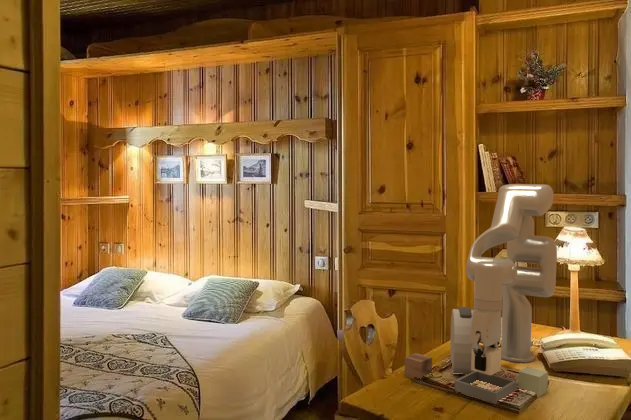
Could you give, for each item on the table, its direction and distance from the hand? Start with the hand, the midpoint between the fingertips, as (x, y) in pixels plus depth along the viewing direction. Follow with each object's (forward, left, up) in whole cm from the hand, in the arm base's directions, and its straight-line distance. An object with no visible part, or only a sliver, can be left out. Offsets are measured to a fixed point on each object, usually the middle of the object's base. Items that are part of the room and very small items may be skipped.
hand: (485, 366), depth 151 cm
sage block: (-11, +9, -8) cm, 16 cm away
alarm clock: (-14, -15, -8) cm, 22 cm away
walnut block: (+3, -21, -8) cm, 23 cm away
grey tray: (0, 0, -8) cm, 8 cm away
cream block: (0, 0, -1) cm, 1 cm away
